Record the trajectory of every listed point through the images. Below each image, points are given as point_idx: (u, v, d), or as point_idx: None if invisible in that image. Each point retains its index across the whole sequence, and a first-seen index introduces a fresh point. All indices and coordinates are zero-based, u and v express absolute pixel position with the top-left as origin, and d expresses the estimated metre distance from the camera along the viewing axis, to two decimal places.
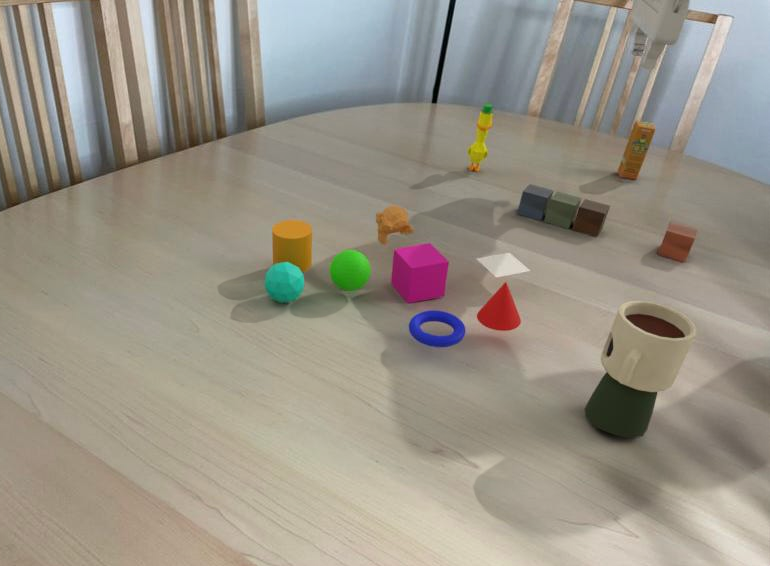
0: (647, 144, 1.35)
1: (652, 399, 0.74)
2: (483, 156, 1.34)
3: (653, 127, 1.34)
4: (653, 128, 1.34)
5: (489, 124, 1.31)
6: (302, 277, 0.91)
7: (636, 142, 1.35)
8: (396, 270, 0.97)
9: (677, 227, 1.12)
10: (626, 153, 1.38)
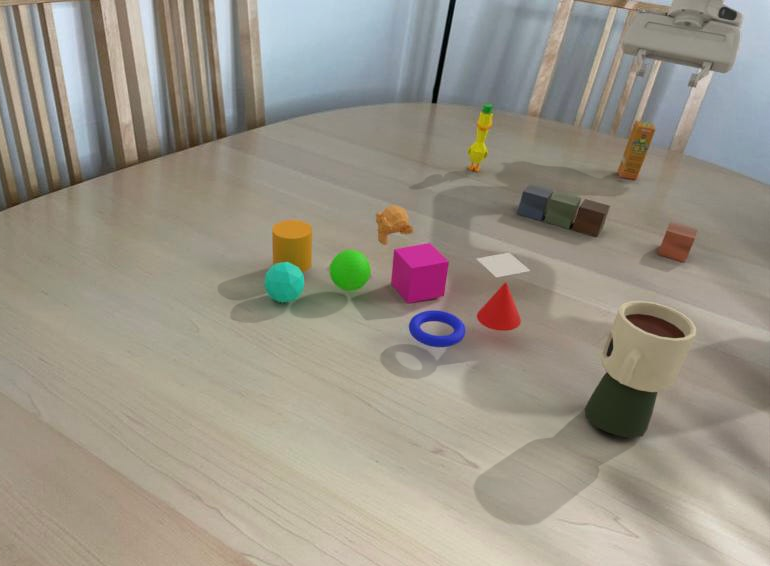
0: (647, 144, 1.35)
1: (652, 399, 0.74)
2: (483, 156, 1.34)
3: (653, 127, 1.34)
4: (653, 128, 1.34)
5: (489, 124, 1.31)
6: (302, 277, 0.91)
7: (636, 142, 1.35)
8: (396, 270, 0.97)
9: (677, 227, 1.12)
10: (626, 153, 1.38)
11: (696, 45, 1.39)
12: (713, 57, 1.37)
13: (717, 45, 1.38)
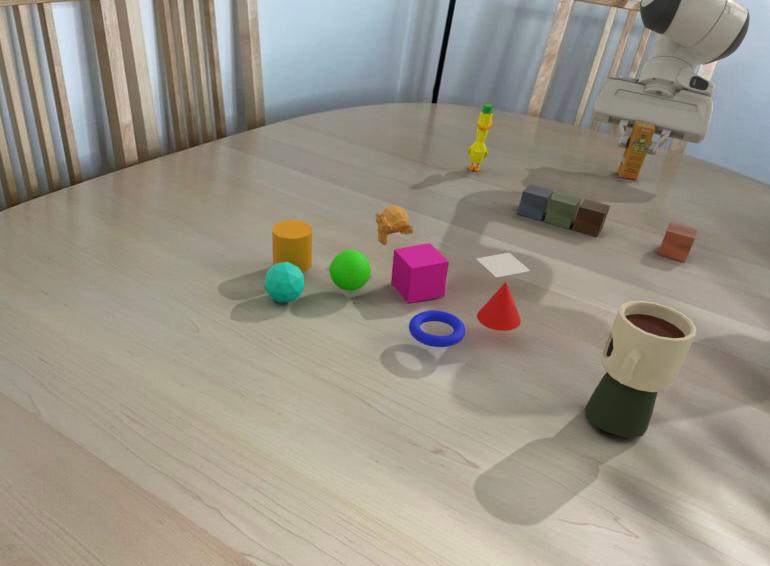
0: (647, 144, 1.35)
1: (652, 399, 0.74)
2: (483, 156, 1.34)
3: (653, 127, 1.34)
4: (653, 128, 1.34)
5: (489, 124, 1.31)
6: (302, 277, 0.91)
7: (636, 142, 1.35)
8: (396, 270, 0.97)
9: (677, 227, 1.12)
10: (626, 153, 1.38)
11: (667, 114, 1.35)
12: (684, 128, 1.33)
13: (688, 115, 1.34)
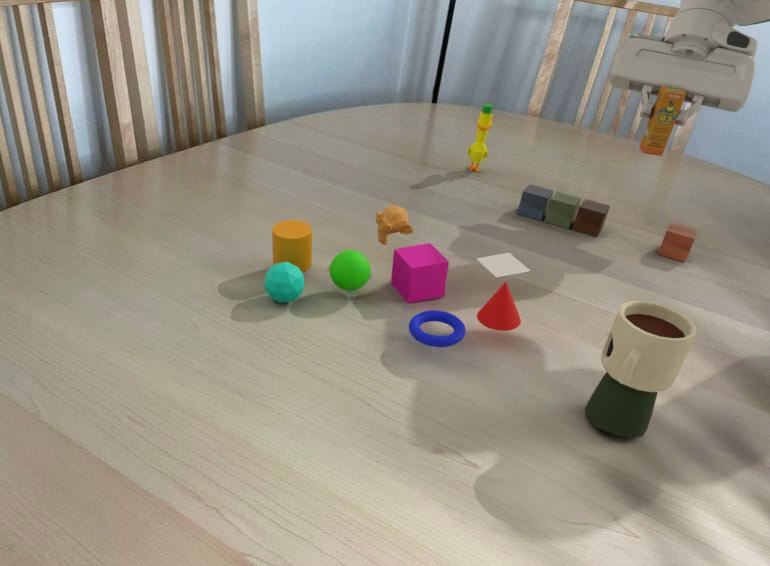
0: (675, 113, 1.14)
1: (652, 399, 0.74)
2: (483, 156, 1.34)
3: (683, 92, 1.12)
4: (683, 93, 1.12)
5: (489, 124, 1.31)
6: (302, 277, 0.91)
7: (662, 111, 1.14)
8: (396, 270, 0.97)
9: (677, 227, 1.12)
10: (650, 124, 1.16)
11: (699, 77, 1.14)
12: (720, 93, 1.12)
13: (725, 78, 1.12)
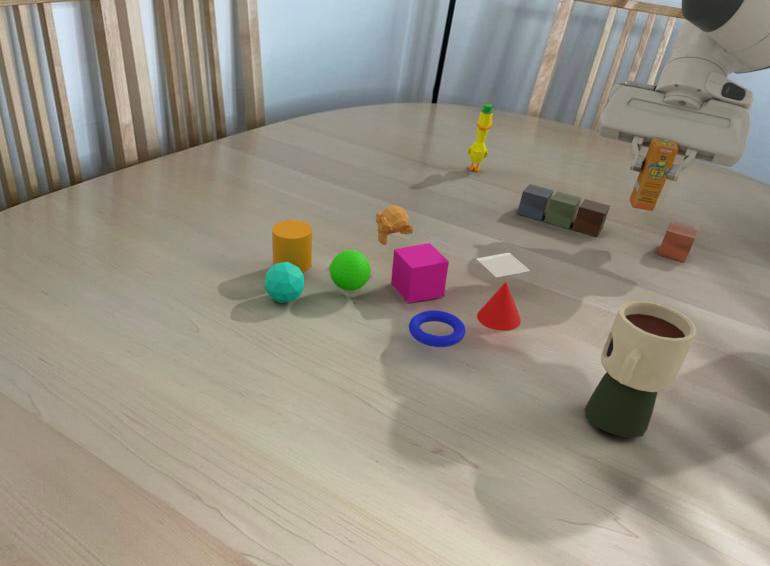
0: (667, 168, 1.08)
1: (652, 399, 0.74)
2: (483, 156, 1.34)
3: (675, 146, 1.06)
4: (675, 148, 1.06)
5: (489, 124, 1.31)
6: (302, 277, 0.91)
7: (653, 165, 1.08)
8: (396, 270, 0.97)
9: (677, 227, 1.12)
10: (641, 178, 1.10)
11: (692, 130, 1.08)
12: (715, 148, 1.06)
13: (719, 132, 1.06)
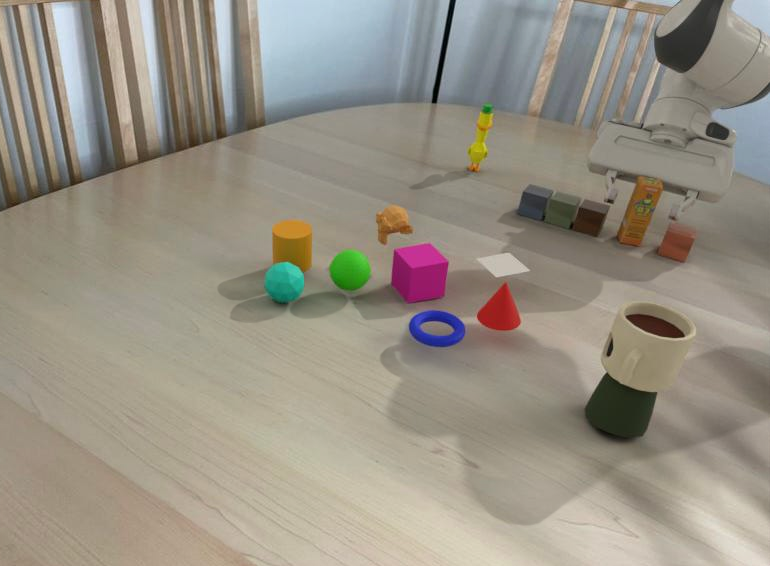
0: (653, 205, 1.11)
1: (652, 399, 0.74)
2: (483, 156, 1.34)
3: (660, 185, 1.10)
4: (660, 186, 1.09)
5: (489, 124, 1.31)
6: (302, 277, 0.91)
7: (639, 203, 1.11)
8: (396, 270, 0.97)
9: (677, 227, 1.12)
10: (627, 215, 1.14)
11: (678, 168, 1.11)
12: (699, 185, 1.09)
13: (704, 170, 1.10)
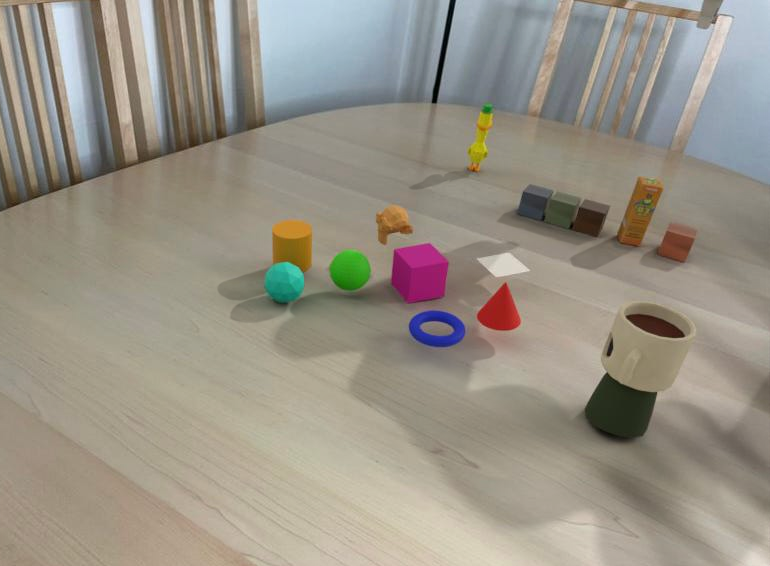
0: (653, 205, 1.11)
1: (652, 399, 0.74)
2: (483, 156, 1.34)
3: (660, 185, 1.10)
4: (660, 186, 1.09)
5: (489, 124, 1.31)
6: (302, 277, 0.91)
7: (639, 203, 1.11)
8: (396, 270, 0.97)
9: (677, 227, 1.12)
10: (627, 215, 1.14)
11: None
12: None
13: None
